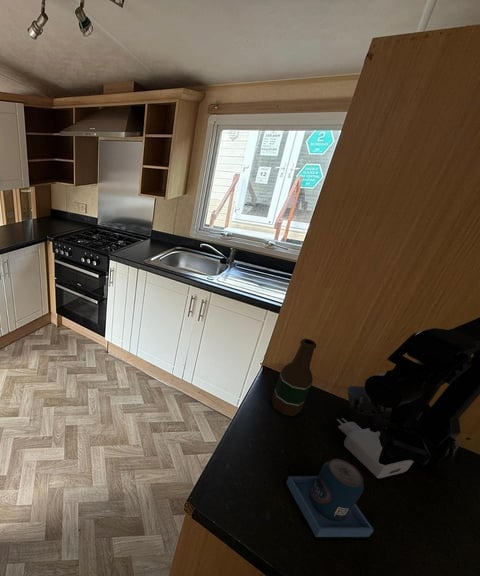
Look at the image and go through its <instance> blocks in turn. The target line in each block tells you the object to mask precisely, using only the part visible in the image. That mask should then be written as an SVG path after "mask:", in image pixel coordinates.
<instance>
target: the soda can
mask: <svg viewBox="0 0 480 576" xmlns="http://www.w3.org/2000/svg"><path fill="white" fill-rule="evenodd" d="M317 476H318V477H317V479H316V481H315V483H314V485H313V486H312V488H311V490H310V499H311V502H312V504H313V506H314V508H315V509H316V510H317V511H318V512H319V513H320V514H321V515H322V516H324V517H325V518H327V519H330V520H335V521H342V520H344V519H346V518H347V516H348V515H349V513H350V512H351V510H352V508H353V507H354V505H355V504H356V503H357V502H358V501H359V499H360V498H361V496H362V494H363V492H364V490H365V485H364V484H365V483H364V477H363V474H362V472H361V471H360V470H359V469H358V468H357V467H356V466H355V465H354V464H352V463H350V462H348V461H346V460H344V459H340V458H333V459H330V460H329V461H327V462H325V463H324V464H323V465H322V467H321V469H320V471H319V472H318V475H317ZM356 505H357V504H356Z"/></svg>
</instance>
